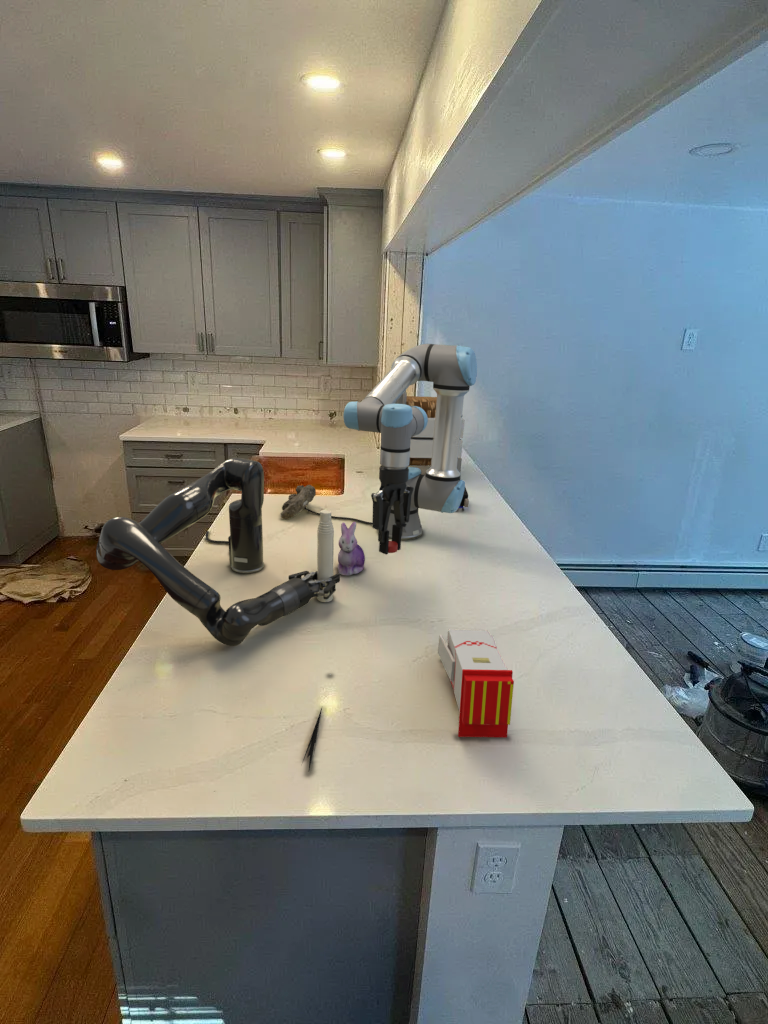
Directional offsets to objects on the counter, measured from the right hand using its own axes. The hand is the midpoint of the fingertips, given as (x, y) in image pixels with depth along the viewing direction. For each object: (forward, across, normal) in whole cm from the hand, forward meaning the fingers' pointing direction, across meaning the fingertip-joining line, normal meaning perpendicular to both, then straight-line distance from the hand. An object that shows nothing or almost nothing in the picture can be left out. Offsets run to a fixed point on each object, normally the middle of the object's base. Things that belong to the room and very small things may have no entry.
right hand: (389, 550), depth 152 cm
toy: (+14, +16, +41) cm, 46 cm away
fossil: (+13, -21, -70) cm, 74 cm away
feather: (+14, +45, +27) cm, 54 cm away
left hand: (+8, +12, -10) cm, 17 cm away
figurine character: (+13, -75, -35) cm, 84 cm away
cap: (-2, 0, 0) cm, 2 cm away
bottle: (+14, +14, -10) cm, 22 cm away
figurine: (+14, -3, -19) cm, 23 cm away
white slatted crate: (+13, -99, -79) cm, 127 cm away
